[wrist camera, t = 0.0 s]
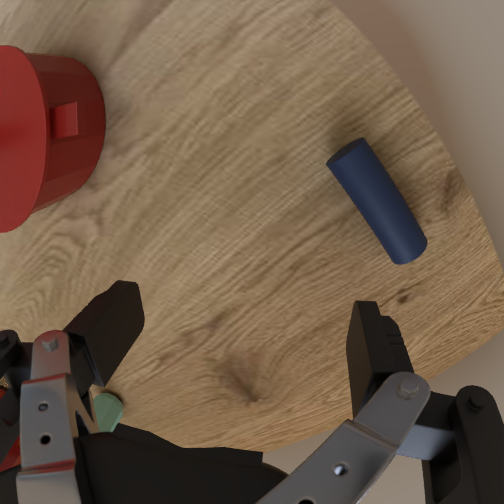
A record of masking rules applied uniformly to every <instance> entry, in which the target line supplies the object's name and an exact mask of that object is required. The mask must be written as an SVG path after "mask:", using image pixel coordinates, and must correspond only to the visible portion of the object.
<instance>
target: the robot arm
mask: <svg viewBox="0 0 504 504" xmlns="http://www.w3.org/2000/svg"><path fill="white" fill-rule="evenodd" d="M144 321H145V317H144V311H143V306H142V301H141V296H140V291H139V286H138V284H137V283H136V282H130V281H122V280H118V281H116V282H115V283H114V284H113V285H112V286H111V287H110V288H109V289H108V290H107V291H105V292H103V293H101V294H99V295H98V296H96V297H94V298H93V299H92V300H91V301H90V302H89V303H88V306H86V307H85V308H84V309H83V310H82V312H80V313H79V314H78V315H77V316H76V317H75V318H74V319H73V320H72V321H71V322H70V323H69V324H68V325H67V326H66V327H65V328H64V329H63V330H62V331H60V330H52V331H48V332H45V333H43V334H41V335H40V336H38V337H37V338H36V339H35V341H34V343H30V342H21V341H20V339H19V337H18V334H17V333H16V332H15V331H14V330H3V331H0V379H1V378H2V377H4V378H5V380H6V382H7V383H8V385H9V387H10V388H9V389H8V390H7V392H6V393H5V394H4V395H3V397H2V398H1V400H0V466H1V464H2V462H3V460H4V459H5V457H6V455H7V454H8V452H9V450H10V449H11V447H12V445H13V444H14V442H15V441H16V439H17V437H18V436H19V434H20V453H21V464H19V465H16V466H14V467H12V468H9V469H7V470H4V471H1V472H0V504H359V503H360V501H361V500H362V499H363V498H364V496H365V495H366V494H367V493H368V491H369V490H370V489H371V488H372V486H373V485H374V484H375V482H376V481H377V480H378V478H379V477H380V476H381V474H382V473H383V472H384V470H385V469H386V468H387V466H388V465H389V464H390V462H391V461H392V459H393V458H394V456H395V455H396V454H397V455H402V456H407V457H412V458H417V459H421V461H422V469H423V478H424V489H425V501H426V504H504V424H503V421H502V418H501V415H500V413H499V410H498V407H497V404H496V402H495V400H494V398H493V396H492V395H491V394H490V393H489V392H488V391H487V390H485V389H484V388H482V387H479V386H474V385H470V386H466V387H463V388H462V389H461V390H459V392H458V393H457V395H456V397H454V396H449V395H444V394H440V393H435V392H433V391H430V387H429V385H428V383H427V382H426V381H425V380H424V379H423V378H422V377H421V376H419V375H417V374H415V373H414V370H413V367H412V364H411V361H410V358H409V355H408V352H407V349H406V346H405V345H404V341H403V338H402V337H401V332H400V330H399V327H398V325H397V323H396V322H395V321H394V320H393V319H392V318H391V317H390V316H381V315H380V311H379V308H378V305H377V303H376V302H375V301H355V302H354V305H353V310H352V315H351V320H350V325H349V330H348V335H347V342H346V354H347V363H348V371H349V380H350V390H351V400H352V410H353V420H352V421H351V420H349V419H347V420H345V421H344V422H343V423H342V424H341V425H340V426H339V427H338V428H337V429H336V430H335V431H334V432H333V433H332V434H331V435H330V436H329V437H328V438H327V439H326V440H325V441H324V442H323V443H322V444H321V445H320V446H319V447H318V448H317V449H316V450H315V451H314V452H313V453H312V454H311V455H310V456H309V457H308V458H307V459H306V460H305V461H304V462H303V463H302V464H300V465H299V466H298V467H297V468H296V469H295V470H294V471H293V472H292V473H291V474H289V475H288V474H287V473H285V472H283V471H282V470H280V469H278V468H276V467H274V466H272V465H269V464H266V463H263V462H262V458H263V452H257V451H249V450H241V449H234V448H227V447H214V448H182V447H179V446H177V445H175V444H173V443H171V442H169V441H167V440H165V439H163V438H161V437H159V436H157V435H155V434H153V433H151V432H149V431H145V430H141V429H138V428H134V427H131V426H127V425H124V424H121V423H117V425H116V427H115V429H114V430H113V432H100V431H99V427H98V423H97V418H96V413H95V408H94V403H93V398H92V393H91V391H90V389H89V388H90V387H91V385H92V384H94V385H98V386H101V387H105V386H106V384H107V383H108V381H109V380H110V378H111V376H112V375H113V373H114V372H115V370H116V369H117V367H118V366H119V364H120V363H121V361H122V360H123V358H124V357H125V355H126V354H127V352H128V351H129V349H130V348H131V346H132V345H133V343H134V342H135V341H136V339H137V338H138V336H139V335H140V333H141V332H142V330H143V327H144Z"/></svg>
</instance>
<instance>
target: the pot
mask: <svg viewBox="0 0 504 504" xmlns="http://www.w3.org/2000/svg"><path fill="white" fill-rule="evenodd" d="M26 54H27V55H28V56H29V57H30V58H31V59H32V61H33V62H34V63H35V65H36V67H37V69H38V71H39V73H40V76H41V78H42V81H43V84H44V88H45V92H46V96H47V102H48V108H49V119H50V150H49V160H48V168H47V173H46V178H45V182H44V186H43V189H42V193H41V195H40V198H39V200H38V203H37V205H36V206H35V208H34V210H33V212H32V213H31V214H33V213H35V212H37V211H39V210H41V209H43V208H45V207H47V206H49V205H51V204H53V203H56V202H58V201H60V200H62V199H64V198H65V197H67V196H68V195H70V194H72V193H74V192H75V191H76V190H78V189H79V188H80V187H81V186H82V185H83V184H84V183H85V182H86V181H87V179H88V178H89V177H90V175H91V174H92V172H93V170H94V168H95V167H96V164H97V162H98V160H99V157H100V154H101V150H102V147H103V142H104V136H105V106H104V101H103V97H102V93H101V90H100V87H99V85H98V83H97V81H96V79H95V77H94V76H93V74H92V73H91V72H90V71H89V69H88V68H87V67H86V66H85V65H83V64H82V63H81V62H79V61H77V60H76V59H74V58H69V57H63V56H57V55H49V54H38V53H26Z"/></svg>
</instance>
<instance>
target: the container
mask: <svg viewBox="0 0 504 504" xmlns="http://www.w3.org/2000/svg"><path fill="white" fill-rule="evenodd" d="M93 403H94V408H95V413H96V418H97V423H98V427H99V431H100V432H113V430H114V429H115V427H116V425H117V423H119V421H120V419H121V417H122V415H123V405H122V403H121V401H120V400H119V399H118V398H117V397H115V396H113V395H111V394H109V393H102V394H100V395H98V396H96V397H95V398H94V400H93Z"/></svg>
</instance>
